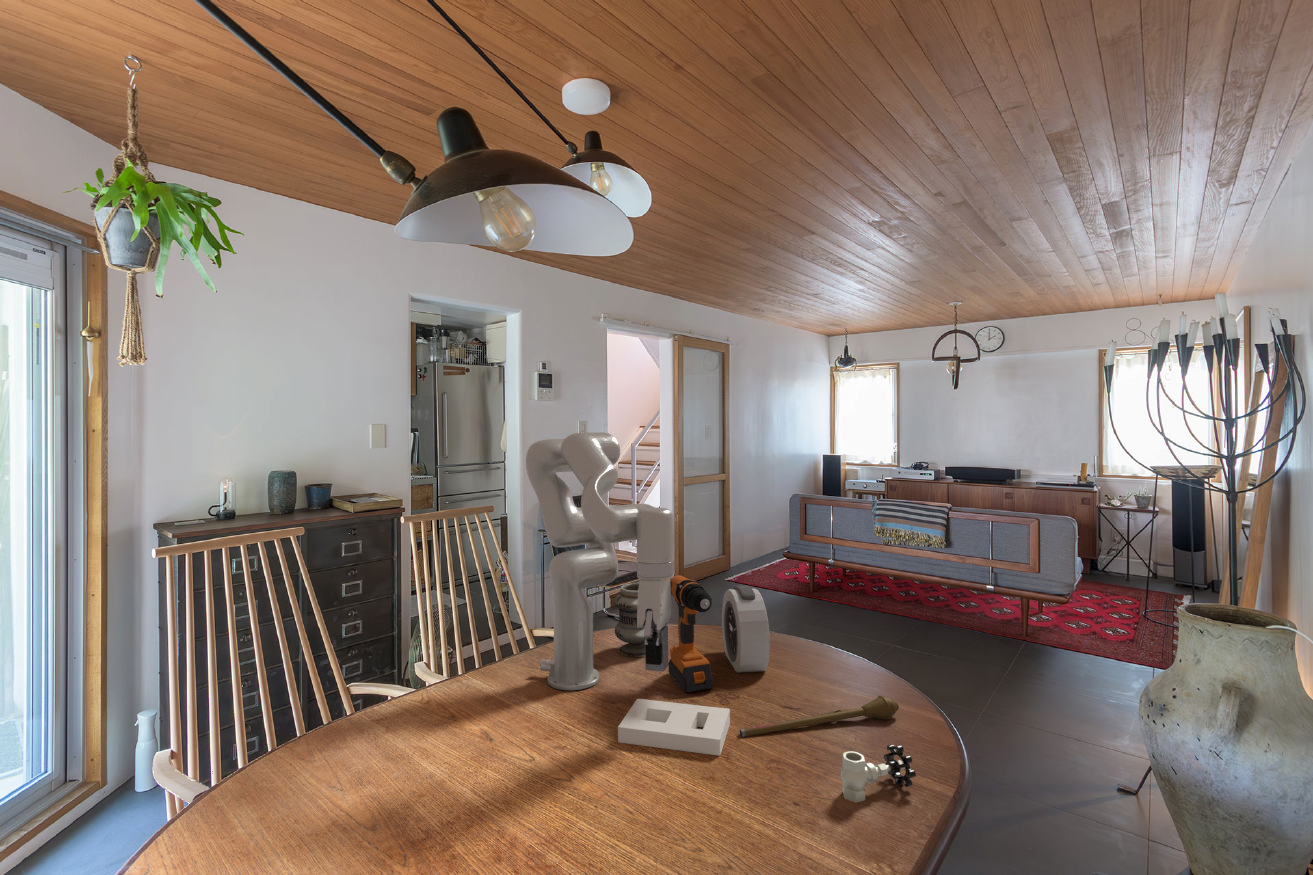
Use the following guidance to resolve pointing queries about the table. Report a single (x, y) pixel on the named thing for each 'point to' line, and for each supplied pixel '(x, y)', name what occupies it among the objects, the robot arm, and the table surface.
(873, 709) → the olive long knobbed bar
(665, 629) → the square peg
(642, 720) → the hole board
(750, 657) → the alarm clock
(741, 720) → the table surface
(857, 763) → the valve
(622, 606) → the apothecary jar
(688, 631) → the power drill
